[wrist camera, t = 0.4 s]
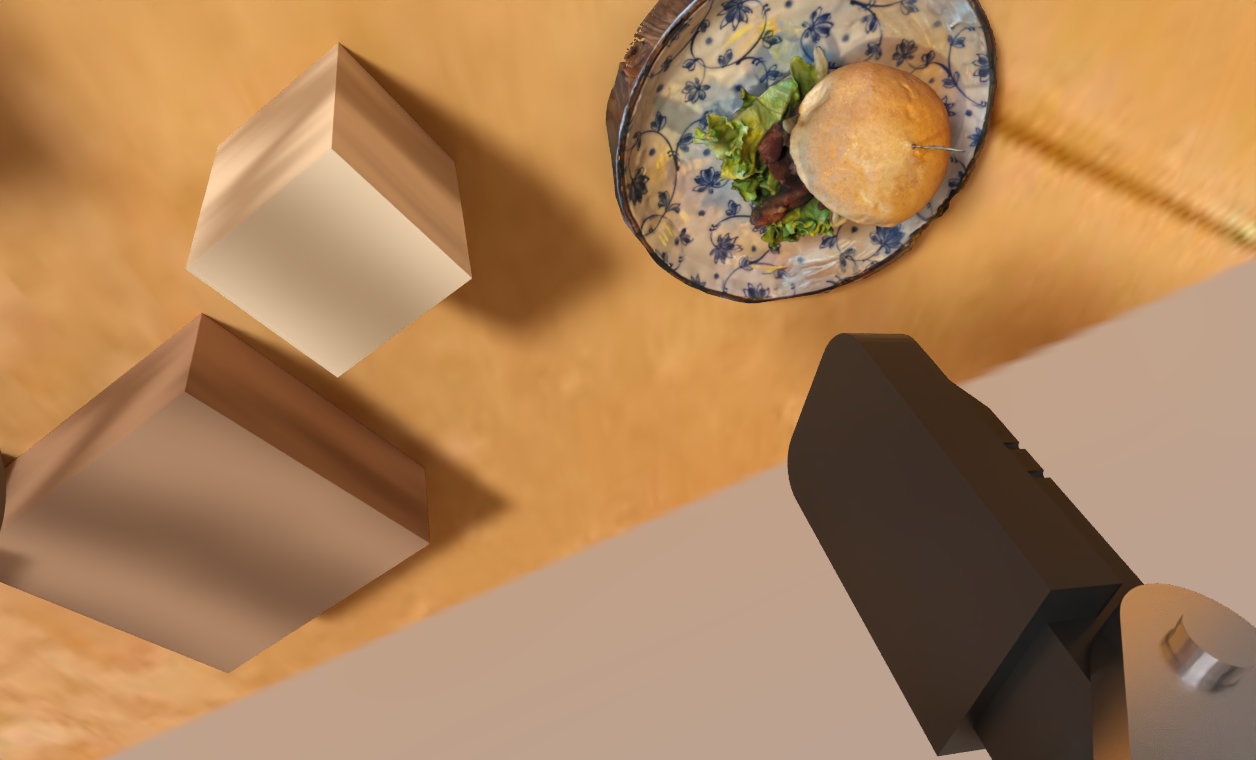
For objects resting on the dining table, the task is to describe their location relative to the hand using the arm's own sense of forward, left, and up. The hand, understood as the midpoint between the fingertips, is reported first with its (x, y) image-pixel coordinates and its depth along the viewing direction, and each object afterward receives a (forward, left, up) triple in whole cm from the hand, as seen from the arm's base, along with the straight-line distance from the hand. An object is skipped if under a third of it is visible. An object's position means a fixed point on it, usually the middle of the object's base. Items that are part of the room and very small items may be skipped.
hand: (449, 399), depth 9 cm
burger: (-5, +12, -18) cm, 22 cm away
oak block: (+6, +4, -18) cm, 19 cm away
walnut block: (+18, +10, -18) cm, 27 cm away
